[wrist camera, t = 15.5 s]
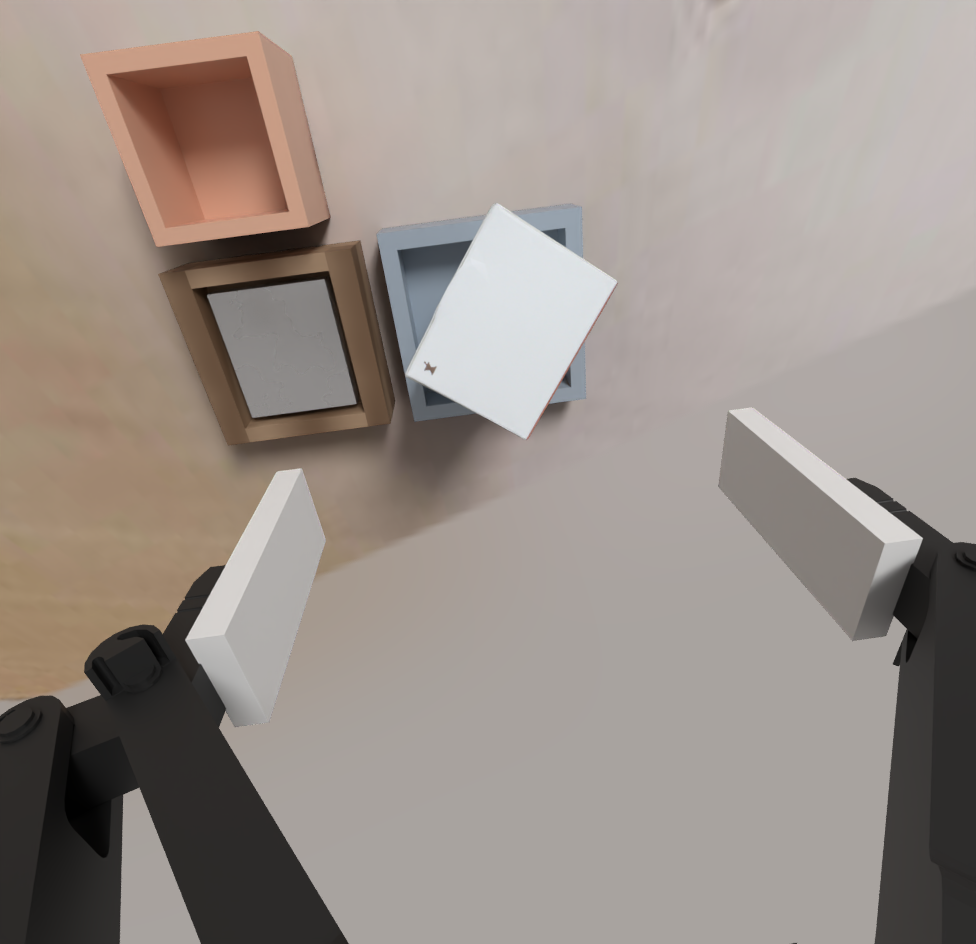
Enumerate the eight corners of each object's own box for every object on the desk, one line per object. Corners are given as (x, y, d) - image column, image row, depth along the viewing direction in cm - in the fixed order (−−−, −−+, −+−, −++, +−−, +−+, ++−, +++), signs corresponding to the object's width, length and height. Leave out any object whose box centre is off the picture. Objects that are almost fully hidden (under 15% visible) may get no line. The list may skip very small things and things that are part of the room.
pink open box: (202, 234, 33) (156, 246, 28) (145, 75, 29) (79, 54, 24) (330, 217, 33) (309, 226, 28) (291, 55, 29) (258, 31, 24)
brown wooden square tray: (247, 420, 39) (227, 445, 36) (187, 263, 34) (158, 274, 30) (395, 401, 39) (390, 423, 36) (360, 240, 34) (350, 248, 30)
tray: (416, 404, 39) (414, 421, 37) (382, 228, 33) (376, 234, 31) (576, 383, 39) (586, 398, 37) (570, 203, 33) (581, 206, 31)
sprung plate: (257, 410, 36) (252, 417, 35) (214, 290, 32) (206, 294, 31) (359, 397, 36) (356, 404, 35) (328, 275, 32) (324, 279, 31)
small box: (503, 409, 36) (526, 446, 24) (421, 363, 35) (399, 376, 23) (564, 302, 35) (622, 279, 22) (479, 250, 34) (490, 197, 21)
